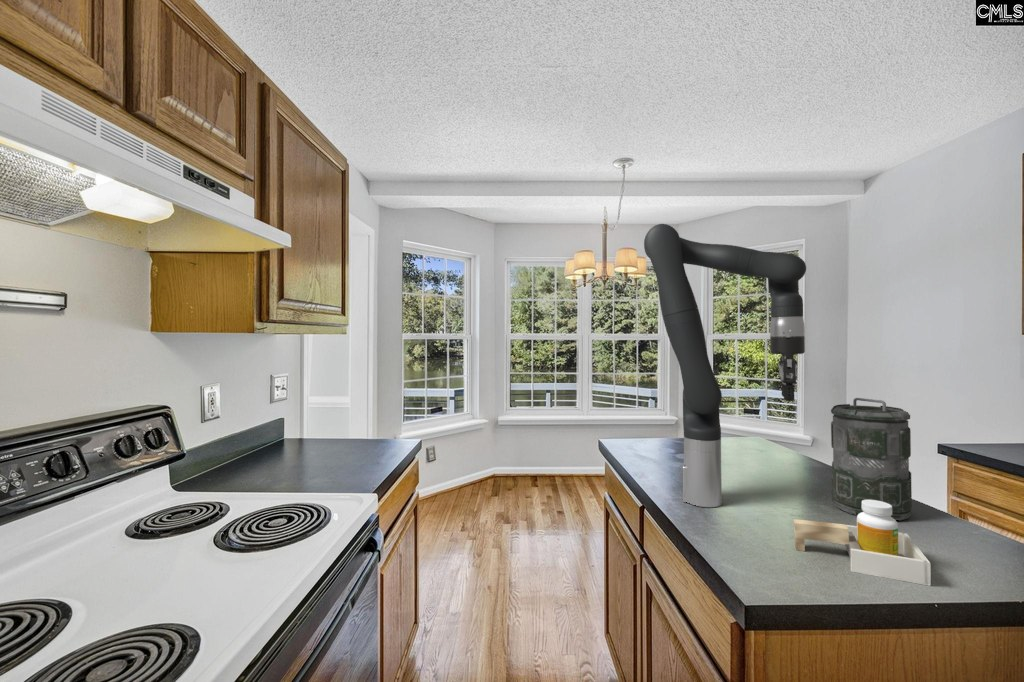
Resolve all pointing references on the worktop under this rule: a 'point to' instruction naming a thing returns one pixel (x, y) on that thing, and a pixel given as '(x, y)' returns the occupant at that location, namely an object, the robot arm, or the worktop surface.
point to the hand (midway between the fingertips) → (787, 398)
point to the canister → (871, 457)
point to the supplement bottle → (877, 528)
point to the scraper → (823, 534)
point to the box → (893, 562)
